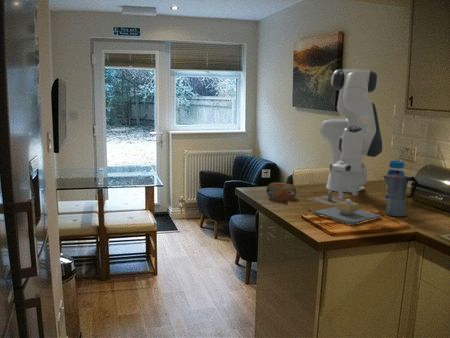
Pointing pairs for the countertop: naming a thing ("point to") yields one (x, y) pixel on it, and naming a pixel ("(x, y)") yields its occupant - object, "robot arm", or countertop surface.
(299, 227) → the countertop surface
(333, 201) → the stand
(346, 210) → the tan square frame
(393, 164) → the beverage bottle
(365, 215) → the plate
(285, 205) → the countertop surface
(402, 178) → the moka pot
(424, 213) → the countertop surface
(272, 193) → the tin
